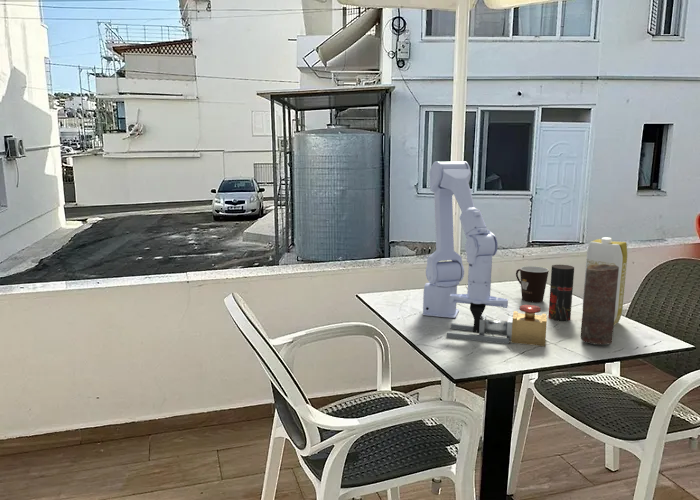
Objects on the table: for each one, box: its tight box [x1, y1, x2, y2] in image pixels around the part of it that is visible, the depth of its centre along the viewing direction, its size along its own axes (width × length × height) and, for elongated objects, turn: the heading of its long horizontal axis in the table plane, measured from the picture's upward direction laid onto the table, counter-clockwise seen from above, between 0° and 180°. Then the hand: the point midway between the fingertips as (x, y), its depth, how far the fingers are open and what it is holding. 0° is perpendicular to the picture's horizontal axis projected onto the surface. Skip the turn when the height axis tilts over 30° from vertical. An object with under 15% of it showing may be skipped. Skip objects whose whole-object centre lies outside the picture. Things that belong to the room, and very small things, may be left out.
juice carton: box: [582, 236, 628, 326], centre depth 155 cm, size 9×8×24 cm
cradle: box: [446, 322, 510, 345], centre depth 147 cm, size 16×8×1 cm, turn 72°
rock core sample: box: [580, 264, 619, 346], centre depth 139 cm, size 8×7×20 cm
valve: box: [510, 304, 548, 347], centre depth 142 cm, size 8×6×9 cm
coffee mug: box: [515, 265, 550, 304], centre depth 180 cm, size 12×9×10 cm
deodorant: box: [547, 264, 575, 322], centre depth 160 cm, size 6×6×15 cm
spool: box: [478, 313, 513, 343], centre depth 145 cm, size 8×5×5 cm, turn 72°
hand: (476, 331), depth 147 cm, fingers closed
